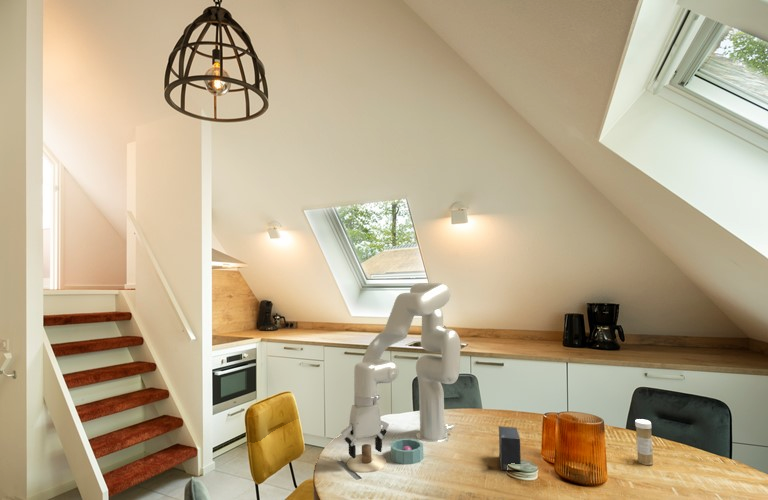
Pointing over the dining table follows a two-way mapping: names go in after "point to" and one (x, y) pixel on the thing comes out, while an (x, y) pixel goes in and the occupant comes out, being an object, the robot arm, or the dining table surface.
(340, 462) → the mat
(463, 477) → the dining table surface
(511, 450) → the small box
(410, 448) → the plum
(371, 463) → the lid
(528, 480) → the dining table surface
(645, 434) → the sprinkles bottle
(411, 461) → the bowl
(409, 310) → the robot arm
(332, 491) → the dining table surface
